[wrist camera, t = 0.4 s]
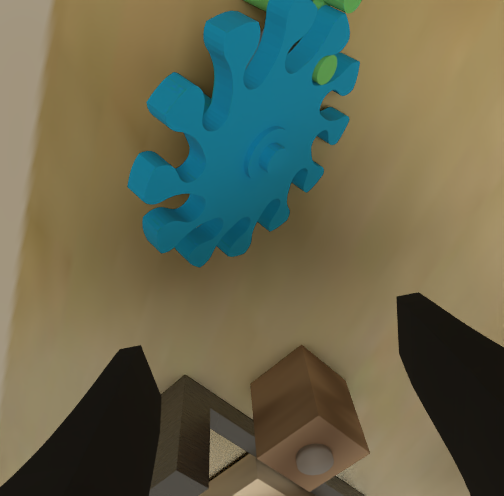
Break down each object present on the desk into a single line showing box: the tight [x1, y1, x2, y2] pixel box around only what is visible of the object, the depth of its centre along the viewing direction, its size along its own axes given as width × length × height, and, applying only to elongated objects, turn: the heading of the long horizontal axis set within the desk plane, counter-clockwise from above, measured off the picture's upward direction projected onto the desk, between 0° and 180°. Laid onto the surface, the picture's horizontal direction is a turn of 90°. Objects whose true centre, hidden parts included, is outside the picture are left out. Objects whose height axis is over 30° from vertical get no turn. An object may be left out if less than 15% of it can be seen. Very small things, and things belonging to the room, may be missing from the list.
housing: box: [251, 345, 370, 492], centre depth 24 cm, size 4×4×5 cm
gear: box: [127, 0, 362, 267], centre depth 17 cm, size 11×6×10 cm
